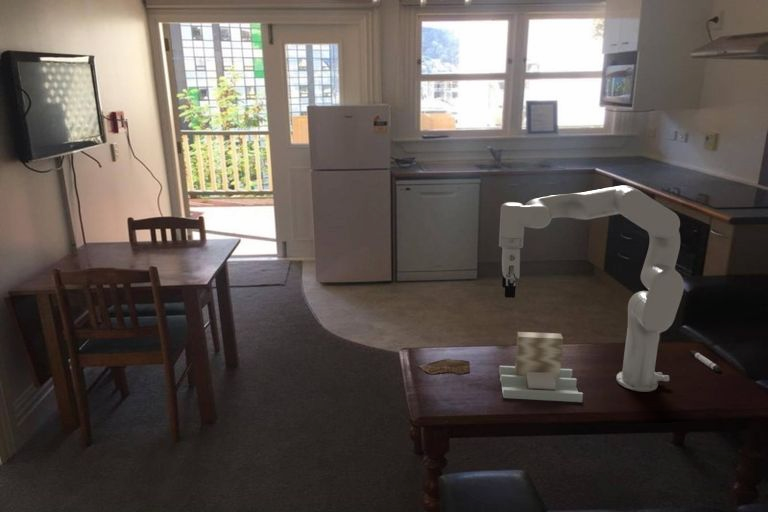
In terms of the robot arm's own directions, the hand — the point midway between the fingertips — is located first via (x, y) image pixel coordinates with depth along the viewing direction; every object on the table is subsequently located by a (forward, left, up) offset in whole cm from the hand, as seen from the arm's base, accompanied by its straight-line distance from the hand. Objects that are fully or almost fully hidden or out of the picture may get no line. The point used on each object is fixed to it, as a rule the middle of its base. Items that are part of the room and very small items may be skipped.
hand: (508, 292), depth 180 cm
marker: (-72, -19, -31) cm, 81 cm away
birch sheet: (-11, +3, -30) cm, 32 cm away
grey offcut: (-11, +10, -27) cm, 31 cm away
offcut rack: (-11, +7, -31) cm, 33 cm away
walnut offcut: (-11, +10, -30) cm, 33 cm away
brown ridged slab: (+16, -5, -31) cm, 36 cm away
